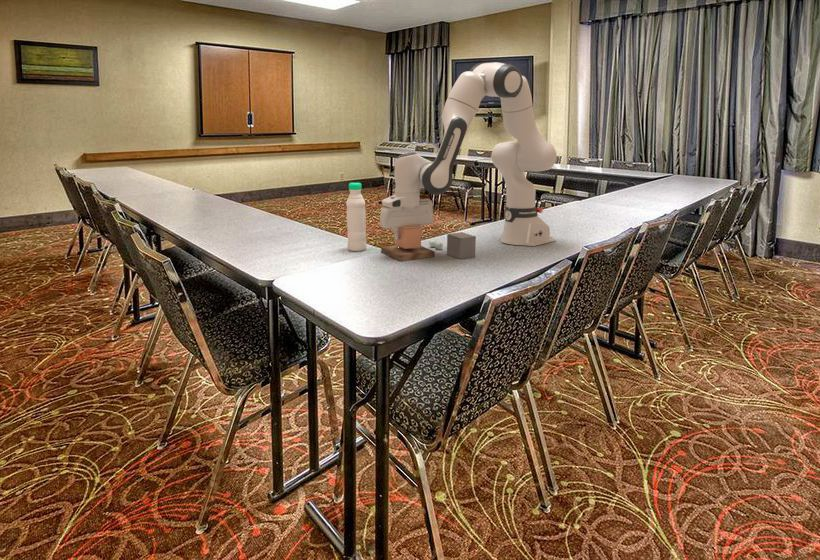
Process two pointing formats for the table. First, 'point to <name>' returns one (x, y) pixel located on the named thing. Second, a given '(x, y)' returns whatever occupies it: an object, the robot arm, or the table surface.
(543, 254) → the table surface
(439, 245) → the marble
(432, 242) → the marble
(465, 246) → the charcoal cover
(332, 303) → the table surface
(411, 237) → the terracotta cover
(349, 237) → the water bottle
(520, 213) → the robot arm
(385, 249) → the walnut board
